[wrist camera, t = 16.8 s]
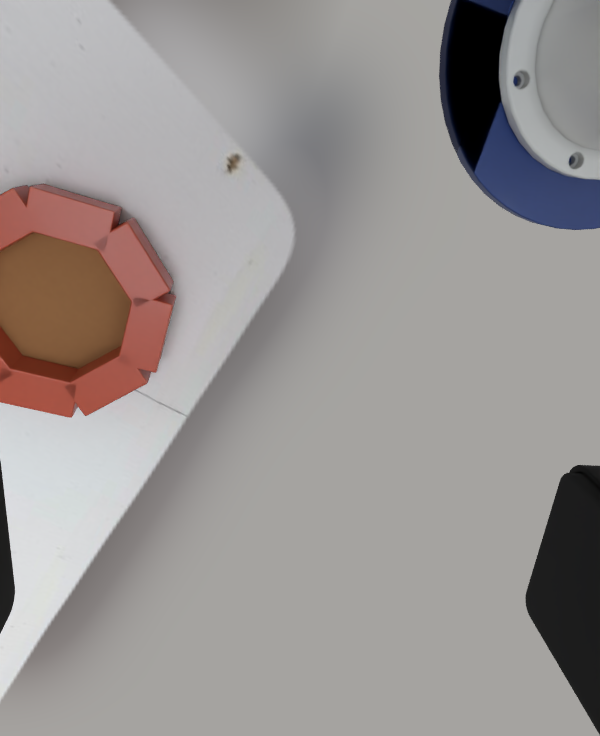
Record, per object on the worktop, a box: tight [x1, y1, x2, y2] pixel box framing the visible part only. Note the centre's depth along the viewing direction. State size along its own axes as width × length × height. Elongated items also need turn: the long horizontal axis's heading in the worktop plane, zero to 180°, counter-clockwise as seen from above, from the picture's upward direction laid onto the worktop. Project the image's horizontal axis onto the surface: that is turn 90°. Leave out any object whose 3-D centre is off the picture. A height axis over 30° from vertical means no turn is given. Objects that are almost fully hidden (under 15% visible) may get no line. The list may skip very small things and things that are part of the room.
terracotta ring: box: [0, 184, 176, 417], centre depth 29 cm, size 11×11×2 cm
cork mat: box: [0, 232, 131, 369], centre depth 30 cm, size 7×7×1 cm
